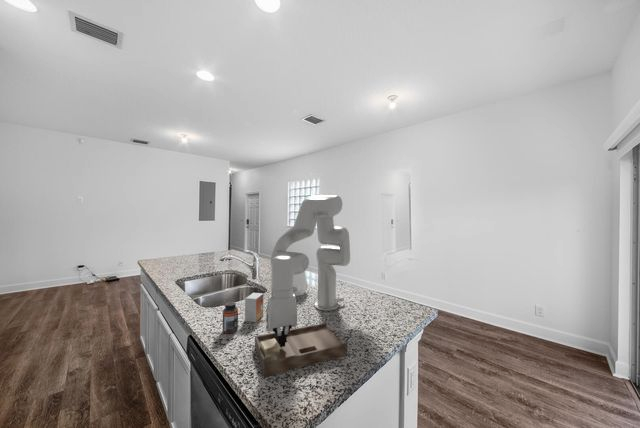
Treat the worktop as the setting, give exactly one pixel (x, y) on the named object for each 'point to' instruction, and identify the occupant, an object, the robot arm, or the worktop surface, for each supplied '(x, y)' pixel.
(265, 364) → the box
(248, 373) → the worktop surface
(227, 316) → the supplement bottle
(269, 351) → the maple block
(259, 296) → the small box
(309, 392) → the worktop surface
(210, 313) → the worktop surface
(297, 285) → the cup
